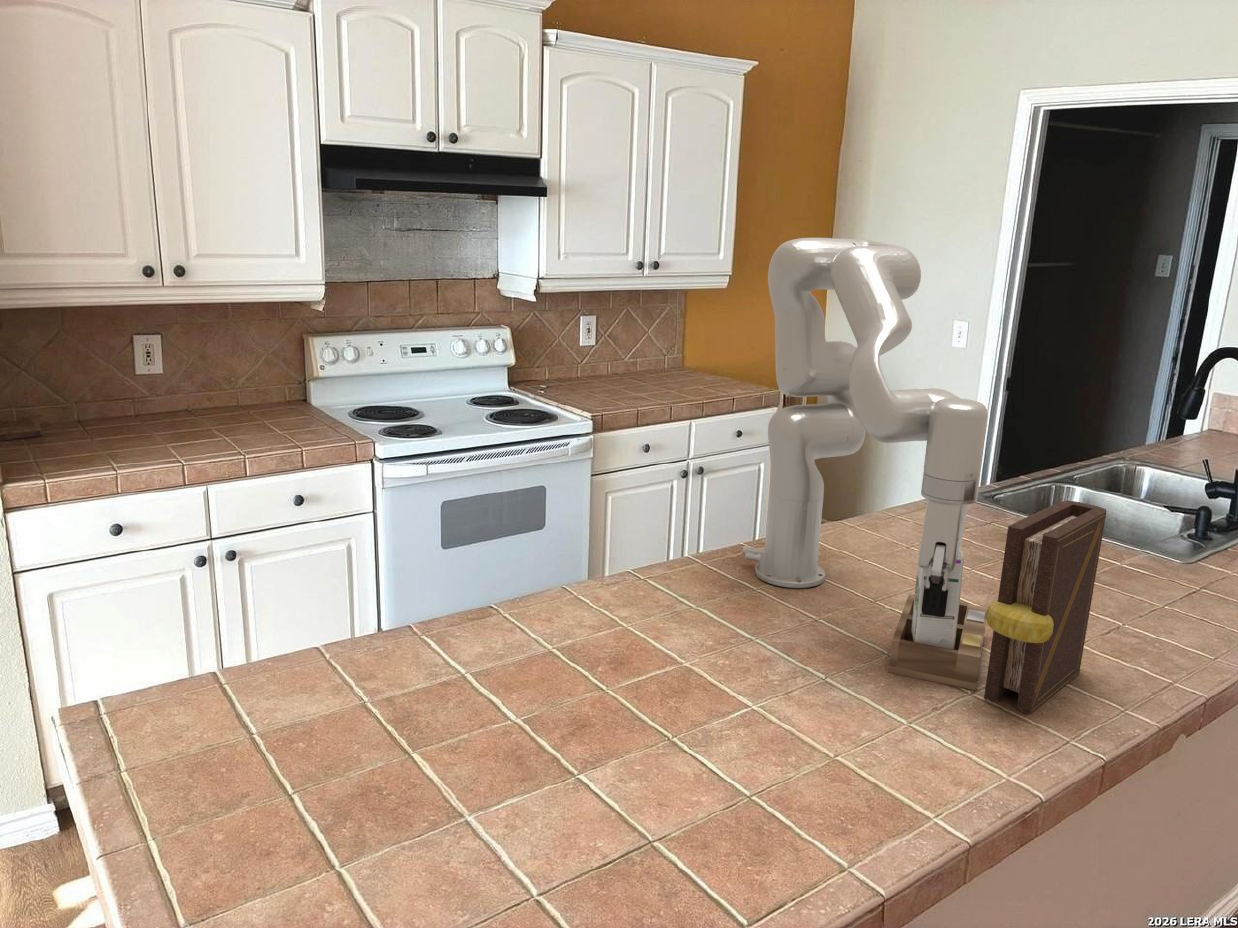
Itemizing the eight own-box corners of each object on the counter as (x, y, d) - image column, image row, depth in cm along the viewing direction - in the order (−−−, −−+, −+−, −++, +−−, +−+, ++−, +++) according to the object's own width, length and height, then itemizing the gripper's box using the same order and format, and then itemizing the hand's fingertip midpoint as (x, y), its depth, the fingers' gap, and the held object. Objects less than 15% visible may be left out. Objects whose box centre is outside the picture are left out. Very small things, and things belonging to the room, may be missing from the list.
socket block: (975, 690, 133) (980, 655, 132) (888, 672, 138) (892, 638, 136) (983, 636, 151) (988, 605, 149) (905, 621, 155) (909, 591, 154)
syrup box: (955, 651, 136) (967, 555, 132) (912, 646, 137) (923, 551, 133) (950, 634, 141) (961, 542, 138) (908, 630, 142) (919, 538, 139)
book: (1033, 653, 145) (1057, 497, 139) (1091, 673, 139) (1119, 511, 133) (966, 701, 130) (990, 528, 124) (1028, 725, 124) (1056, 545, 118)
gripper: (928, 469, 142) (916, 581, 147) (914, 499, 127) (900, 623, 132) (981, 476, 140) (967, 590, 144) (974, 507, 124) (958, 633, 129)
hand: (935, 604), depth 138 cm, fingers closed on syrup box, 6 cm apart
